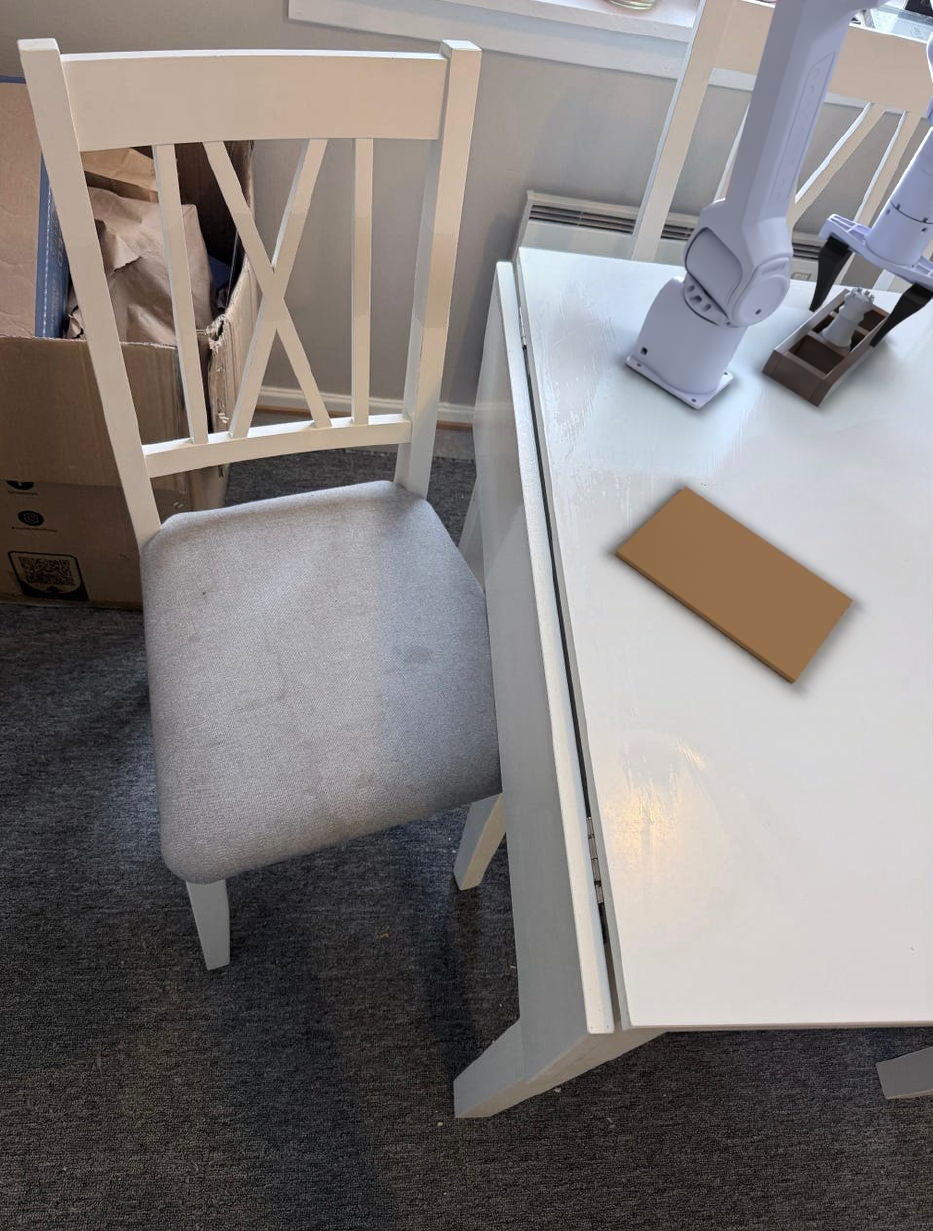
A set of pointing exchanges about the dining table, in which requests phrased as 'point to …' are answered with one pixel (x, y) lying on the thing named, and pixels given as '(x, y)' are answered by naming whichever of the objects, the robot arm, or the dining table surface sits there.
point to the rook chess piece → (848, 318)
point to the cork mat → (737, 582)
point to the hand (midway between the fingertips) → (844, 325)
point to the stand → (822, 353)
